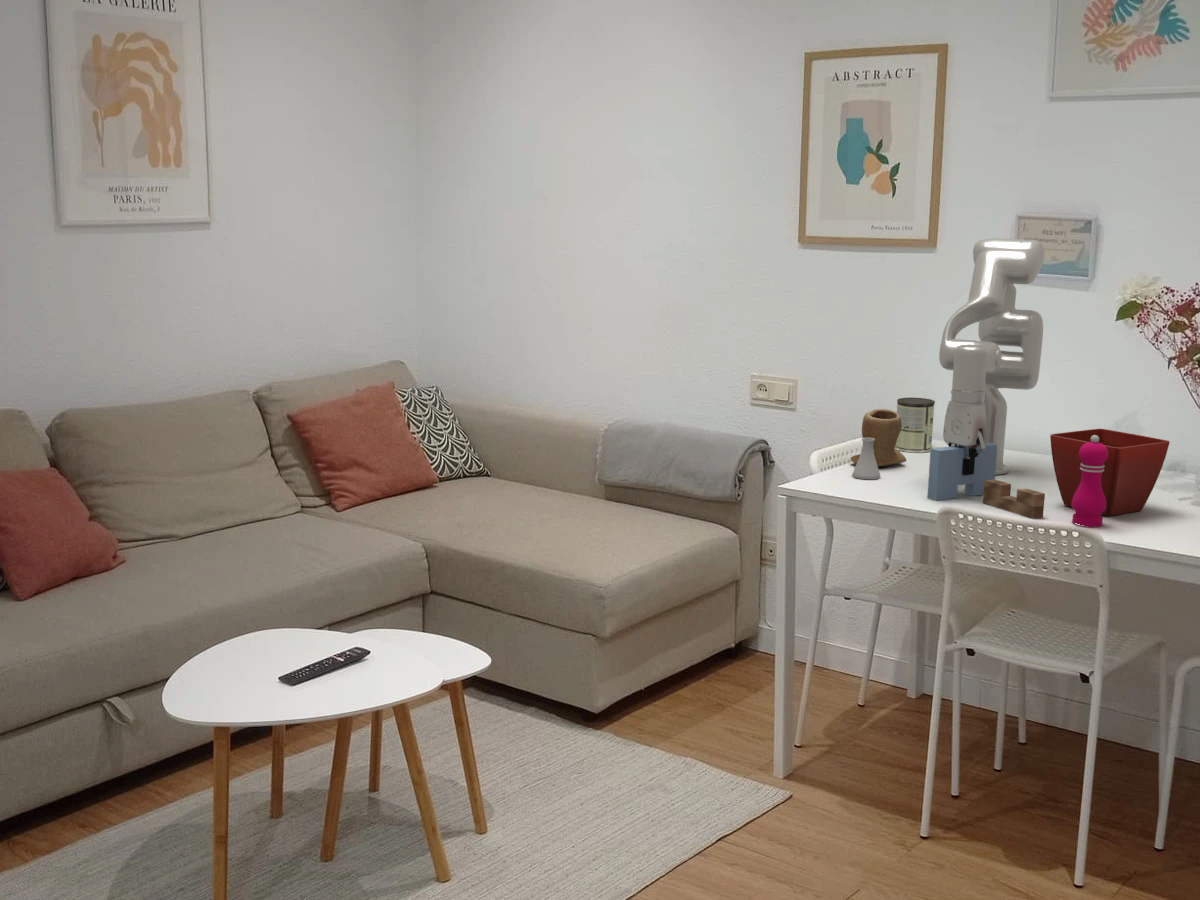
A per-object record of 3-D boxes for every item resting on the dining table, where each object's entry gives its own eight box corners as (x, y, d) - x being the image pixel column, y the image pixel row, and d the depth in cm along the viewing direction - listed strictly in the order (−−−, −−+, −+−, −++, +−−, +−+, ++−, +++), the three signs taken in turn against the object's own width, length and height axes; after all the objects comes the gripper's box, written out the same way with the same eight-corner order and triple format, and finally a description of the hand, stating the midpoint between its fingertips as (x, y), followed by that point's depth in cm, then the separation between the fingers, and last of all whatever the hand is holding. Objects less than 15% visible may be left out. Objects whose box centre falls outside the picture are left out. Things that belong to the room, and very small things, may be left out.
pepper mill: (1064, 519, 294) (1072, 432, 290) (1095, 519, 294) (1103, 432, 290) (1078, 528, 287) (1086, 438, 283) (1110, 527, 287) (1118, 438, 283)
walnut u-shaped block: (982, 503, 308) (984, 480, 307) (992, 501, 309) (994, 479, 308) (1033, 518, 294) (1035, 494, 293) (1042, 517, 295) (1044, 493, 294)
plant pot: (1094, 495, 318) (1100, 427, 315) (1164, 512, 302) (1172, 440, 299) (1042, 504, 308) (1047, 434, 304) (1111, 522, 292) (1119, 448, 289)
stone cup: (873, 472, 340) (877, 415, 337) (844, 463, 350) (847, 408, 347) (918, 467, 347) (921, 411, 344) (888, 459, 357) (891, 404, 354)
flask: (880, 481, 330) (883, 442, 328) (851, 479, 331) (853, 440, 329) (880, 475, 337) (882, 436, 335) (852, 473, 338) (854, 435, 336)
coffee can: (892, 445, 376) (895, 396, 374) (928, 446, 375) (931, 397, 373) (896, 452, 366) (899, 402, 363) (934, 453, 365) (937, 403, 363)
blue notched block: (935, 500, 310) (939, 450, 307) (927, 497, 312) (930, 448, 310) (993, 493, 318) (997, 444, 315) (984, 490, 320) (988, 442, 318)
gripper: (932, 393, 315) (927, 467, 319) (980, 403, 301) (974, 481, 305) (956, 391, 319) (951, 464, 323) (1004, 401, 305) (998, 478, 308)
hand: (962, 472), depth 314 cm, fingers closed on blue notched block, 3 cm apart
